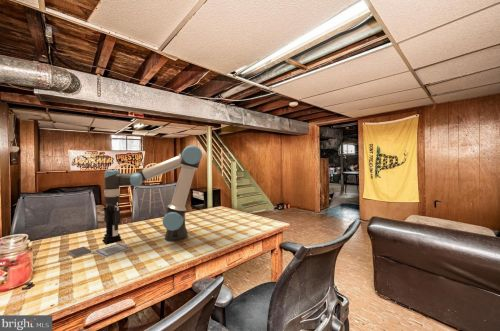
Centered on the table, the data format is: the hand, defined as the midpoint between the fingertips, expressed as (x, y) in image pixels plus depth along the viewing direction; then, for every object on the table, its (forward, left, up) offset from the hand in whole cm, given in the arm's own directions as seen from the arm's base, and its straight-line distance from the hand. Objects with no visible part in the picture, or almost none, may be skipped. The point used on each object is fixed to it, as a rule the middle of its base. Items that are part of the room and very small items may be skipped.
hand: (112, 234), depth 122 cm
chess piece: (0, 0, -4) cm, 4 cm away
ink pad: (+12, -12, -9) cm, 19 cm away
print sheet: (0, 0, -9) cm, 9 cm away
